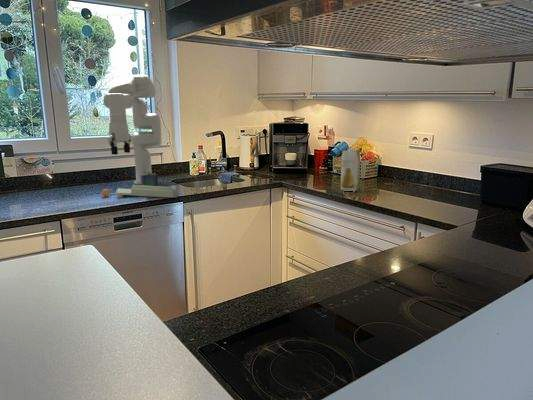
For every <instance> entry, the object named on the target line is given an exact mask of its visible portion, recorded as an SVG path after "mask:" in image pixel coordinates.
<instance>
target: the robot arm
mask: <svg viewBox="0 0 533 400" xmlns="http://www.w3.org/2000/svg"><path fill="white" fill-rule="evenodd" d="M156 92H157V91H156V86H155V84H154V83H153V81H152V79H151V78H150V77H149V76H148V75H146V74H129V75H126V77H125V78H124V79H123V80H122V82H121V83H120V84H118V85H116V86H113V87H111V88H108V90H106V92H105V94H104V96H103V100H102V101H103V105H104V107H105V108H107V109H109V117H110V118H109V119H110V121H109V124H108V136H107V138H106V139H107V141H108V144H109V146H110V148H111V149H110V150H111V151H110V152H111V155H118V154H119V152H118V146H117V145H118V143H123V152H124V153H126V154H127V153H128V154H129V153H130V152H131V147H130V146H131V143H132V147H133V154H134V165H135V179H136V180H134V181H133V184H134V185H141V175H145V174H147V172H148V171H150V173H153V172H152V158H151V157H152V156H151V152H150V151H149V150H148V148H158V147H159V148H160V147H161V145H162V129H161V128H162V126H161V117H160V116H159V114H157V113H153V112H152V113H148V104H147V103H146V102H145V100H144V99H152V98H154V97H155V96H156ZM131 108H132V121H133V122H132V123H133V127H134V129H137V130H152V131H135V132H133V133H131V134H130V132H129V126H128V122H127V110H128V109H129V110H130V109H131ZM126 109H127V110H126Z"/></svg>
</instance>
